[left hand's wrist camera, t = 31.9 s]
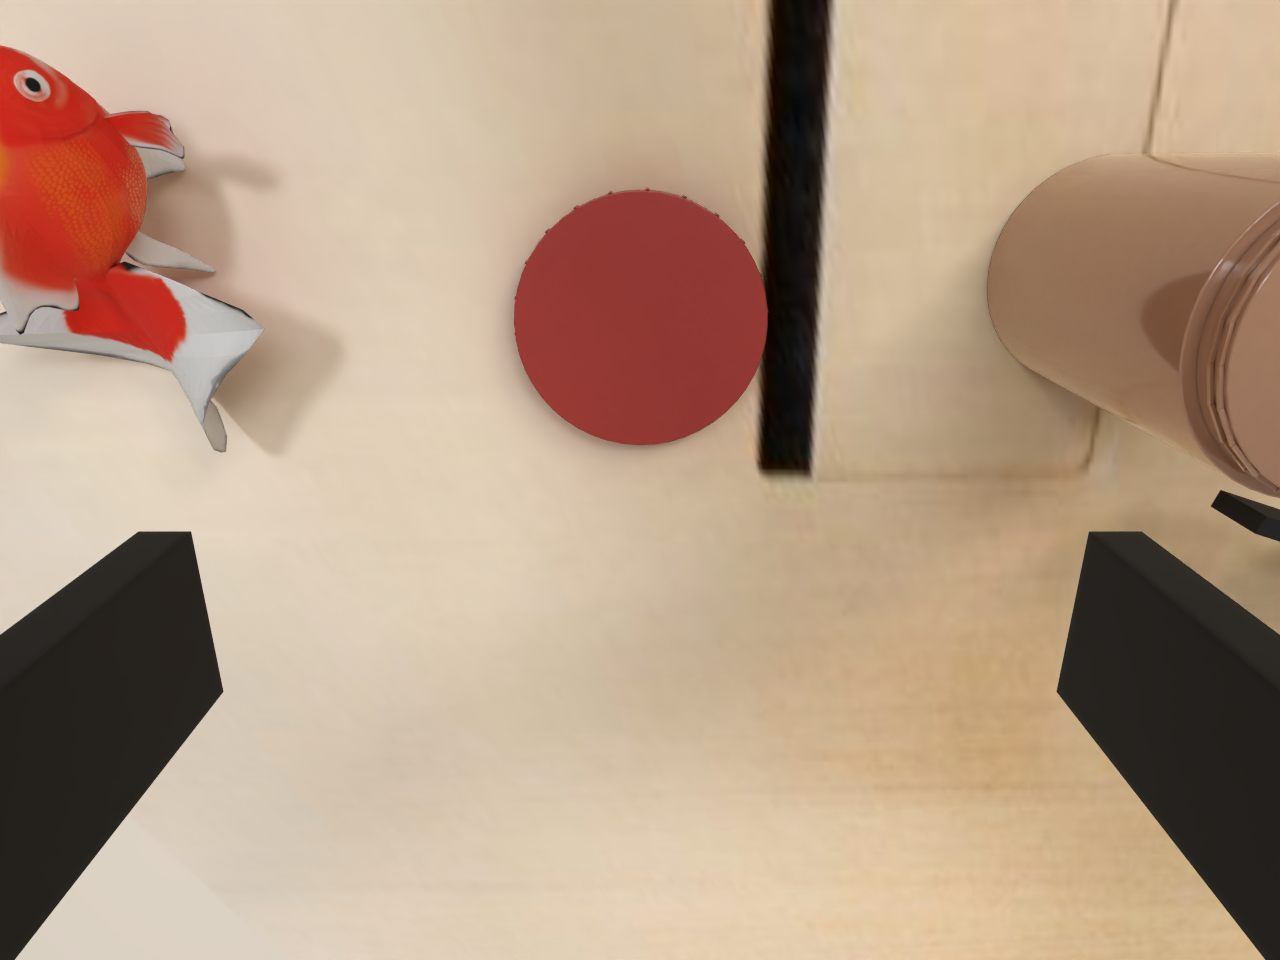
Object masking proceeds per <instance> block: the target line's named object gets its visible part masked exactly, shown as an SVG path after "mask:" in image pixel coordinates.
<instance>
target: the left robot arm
mask: <svg viewBox="0 0 1280 960" xmlns="http://www.w3.org/2000/svg"><path fill="white" fill-rule="evenodd" d="M222 693H223V688H222V683H221V678H220V673H219V668H218V663H217V658H216V653H215V648H214V643H213V638H212V633H211V628H210V623H209V618H208V613H207V609H206V604H205V599H204V594H203V589H202V584H201V579H200V574H199V569H198V564H197V559H196V554H195V549H194V544H193V539H192V534H191V532H137V533H136V534H135V535H133V536H132V537H131V538H129V539H128V540H127V541H125V542H124V543H123V544H121V545H120V546H119V547H117V548H116V549H115V550H113V551H112V552H111V553H109V554H108V555H107V556H105V557H104V558H103V559H101V560H100V561H99V562H97V563H96V564H95V565H93V566H92V567H91V568H89V569H88V570H87V571H85V572H84V573H83V574H81V575H80V576H79V577H77V578H76V579H75V580H73V581H72V582H71V583H69V584H68V585H66V586H65V587H64V588H62V589H61V590H60V591H58V592H57V593H56V594H54V595H53V596H52V597H50V598H49V599H48V600H46V601H45V602H44V603H42V604H41V605H40V606H38V607H37V608H36V609H34V610H33V611H32V612H30V613H29V614H28V615H26V616H25V617H24V618H22V619H21V620H20V621H18V622H17V623H16V624H14V625H13V626H12V627H10V628H9V629H8V630H6V631H5V632H4V633H2V634H1V635H0V960H15V959H16V957H17V956H18V955H19V953H20V952H21V951H22V950H23V948H24V947H25V946H26V944H27V943H28V942H29V941H30V939H31V938H32V937H33V935H34V934H35V933H36V932H37V930H38V929H39V928H40V926H41V925H42V924H43V923H44V921H45V920H46V919H47V917H48V916H49V915H50V914H51V912H52V911H53V910H54V908H55V907H56V906H57V905H58V903H59V902H60V901H61V899H62V898H63V897H64V896H65V894H66V893H67V892H68V890H69V889H70V888H71V887H72V885H73V884H74V883H75V881H76V880H77V879H78V878H79V876H80V875H81V874H82V872H83V871H84V870H85V869H86V867H87V866H88V865H89V864H90V862H91V861H92V860H93V858H94V857H95V856H96V855H97V853H98V852H99V851H100V849H101V848H102V847H103V846H104V844H105V843H106V842H107V840H108V839H109V838H110V837H111V835H112V834H113V833H114V831H115V830H116V829H117V827H118V826H119V825H120V824H121V822H122V821H123V820H124V819H125V817H126V816H127V815H128V813H129V812H130V811H131V810H132V808H133V807H134V806H135V804H136V803H137V802H138V801H139V799H140V798H141V797H142V795H143V794H144V793H145V792H146V790H147V789H148V788H149V786H150V785H151V784H152V783H153V781H154V780H155V779H156V777H157V776H158V775H159V774H160V772H161V771H162V770H163V769H164V767H165V766H166V765H167V763H168V762H169V761H170V760H171V758H172V757H173V756H174V754H175V753H176V752H177V751H178V749H179V748H180V747H181V745H182V744H183V743H184V742H185V740H186V739H187V738H188V736H189V735H190V734H191V733H192V731H193V730H194V729H195V727H196V726H197V725H198V724H199V722H200V721H201V720H202V718H203V717H204V716H205V715H206V713H207V712H208V711H209V709H210V708H211V707H212V706H213V704H214V703H215V702H216V700H217V699H218V698H219V697H220V695H221V694H222ZM1057 693H1058V694H1059V695H1060V697H1061V698H1062V699H1063V700H1064V702H1065V703H1066V704H1067V706H1068V707H1069V708H1070V709H1071V711H1072V712H1073V713H1074V715H1075V716H1076V717H1077V718H1078V720H1079V721H1080V722H1081V724H1082V725H1083V726H1084V727H1085V729H1086V730H1087V731H1088V733H1089V734H1090V735H1091V736H1092V738H1093V739H1094V740H1095V742H1096V743H1097V744H1098V745H1099V747H1100V748H1101V749H1102V751H1103V752H1104V753H1105V754H1106V756H1107V757H1108V758H1109V760H1110V761H1111V762H1112V763H1113V765H1114V766H1115V767H1116V769H1117V770H1118V771H1119V772H1120V774H1121V775H1122V776H1123V777H1124V779H1125V780H1126V781H1127V783H1128V784H1129V785H1130V786H1131V788H1132V789H1133V790H1134V792H1135V793H1136V794H1137V795H1138V797H1139V798H1140V799H1141V801H1142V802H1143V803H1144V804H1145V806H1146V807H1147V808H1148V810H1149V811H1150V812H1151V813H1152V815H1153V816H1154V817H1155V819H1156V820H1157V821H1158V822H1159V824H1160V825H1161V826H1162V828H1163V829H1164V830H1165V831H1166V833H1167V834H1168V835H1169V837H1170V838H1171V839H1172V840H1173V842H1174V843H1175V844H1176V846H1177V847H1178V848H1179V849H1180V851H1181V852H1182V853H1183V855H1184V856H1185V857H1186V858H1187V860H1188V861H1189V862H1190V864H1191V865H1192V866H1193V867H1194V869H1195V870H1196V871H1197V872H1198V874H1199V875H1200V876H1201V878H1202V879H1203V880H1204V881H1205V883H1206V884H1207V885H1208V887H1209V888H1210V889H1211V890H1212V892H1213V893H1214V894H1215V896H1216V897H1217V898H1218V899H1219V901H1220V902H1221V903H1222V905H1223V906H1224V907H1225V908H1226V910H1227V911H1228V912H1229V914H1230V915H1231V916H1232V917H1233V919H1234V920H1235V921H1236V923H1237V924H1238V925H1239V926H1240V928H1241V929H1242V930H1243V932H1244V933H1245V934H1246V935H1247V937H1248V938H1249V939H1250V941H1251V942H1252V943H1253V944H1254V946H1255V947H1256V948H1257V950H1258V951H1259V952H1260V953H1261V955H1262V956H1263V957H1264V959H1265V960H1280V635H1279V634H1278V633H1276V632H1275V631H1274V630H1272V629H1271V628H1270V627H1268V626H1267V625H1266V624H1264V623H1263V622H1262V621H1260V620H1259V619H1258V618H1256V617H1255V616H1254V615H1252V614H1251V613H1250V612H1248V611H1247V610H1246V609H1244V608H1243V607H1242V606H1240V605H1239V604H1238V603H1236V602H1235V601H1234V600H1232V599H1231V598H1230V597H1228V596H1227V595H1226V594H1224V593H1223V592H1222V591H1220V590H1219V589H1218V588H1216V587H1215V586H1214V585H1212V584H1211V583H1209V582H1208V581H1207V580H1205V579H1204V578H1203V577H1201V576H1200V575H1199V574H1197V573H1196V572H1195V571H1193V570H1192V569H1191V568H1189V567H1188V566H1187V565H1185V564H1184V563H1183V562H1181V561H1180V560H1179V559H1177V558H1176V557H1175V556H1173V555H1172V554H1171V553H1169V552H1168V551H1167V550H1165V549H1164V548H1163V547H1161V546H1160V545H1159V544H1157V543H1156V542H1155V541H1153V540H1152V539H1151V538H1149V537H1148V536H1147V535H1145V534H1144V533H1143V532H1089V534H1088V539H1087V544H1086V549H1085V554H1084V559H1083V564H1082V569H1081V574H1080V579H1079V584H1078V589H1077V594H1076V599H1075V604H1074V609H1073V613H1072V618H1071V623H1070V628H1069V633H1068V638H1067V643H1066V648H1065V653H1064V658H1063V663H1062V668H1061V673H1060V678H1059V683H1058V688H1057Z"/></svg>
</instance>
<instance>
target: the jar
mask: <svg viewBox="0 0 1280 960" xmlns="http://www.w3.org/2000/svg"><path fill="white" fill-rule="evenodd" d="M987 295H988V305H989V311H990V316H991V319H992V322H993V325H994V328H995V330H996V332H997V334H998V336H999V338H1000V340H1001V341H1002V343H1003V344H1004V346H1005V347H1006V348H1007V350H1008V351H1009V352H1010V353H1011V354H1012V355H1013V356H1014V357H1015V358H1016V359H1017V360H1018V361H1019V362H1020V363H1022V364H1023V365H1024V366H1026V367H1027V368H1028V369H1030V370H1032V371H1034V372H1036V373H1037V374H1039V375H1041V376H1043V377H1045V378H1047V379H1048V380H1050V381H1052V382H1054V383H1056V384H1058V385H1059V386H1061V387H1063V388H1065V389H1067V390H1069V391H1070V392H1072V393H1074V394H1076V395H1078V396H1080V397H1081V398H1083V399H1085V400H1087V401H1089V402H1091V403H1092V404H1094V405H1096V406H1098V407H1100V408H1102V409H1103V410H1105V411H1107V412H1109V413H1111V414H1113V415H1114V416H1116V417H1118V418H1120V419H1122V420H1124V421H1125V422H1127V423H1129V424H1131V425H1133V426H1135V427H1136V428H1138V429H1140V430H1142V431H1144V432H1146V433H1147V434H1149V435H1151V436H1153V437H1155V438H1157V439H1158V440H1160V441H1162V442H1164V443H1166V444H1168V445H1169V446H1171V447H1173V448H1175V449H1177V450H1179V451H1180V452H1182V453H1184V454H1186V455H1188V456H1190V457H1191V458H1193V459H1195V460H1197V461H1199V462H1201V463H1202V464H1204V465H1206V466H1208V467H1210V468H1212V469H1213V470H1215V471H1217V472H1219V473H1221V474H1223V475H1224V476H1226V477H1228V478H1230V479H1232V480H1234V481H1235V482H1237V483H1239V484H1241V485H1243V486H1245V487H1247V488H1248V489H1251V490H1254V491H1257V492H1259V493H1262V494H1265V495H1268V496H1273V497H1278V498H1280V152H1275V153H1125V154H1108V155H1103V156H1098V157H1093V158H1090V159H1087V160H1084V161H1081V162H1078V163H1075V164H1073V165H1071V166H1069V167H1067V168H1065V169H1063V170H1061V171H1059V172H1058V173H1056V174H1055V175H1053V176H1051V177H1050V178H1048V179H1047V180H1046V181H1044V182H1043V183H1042V184H1041V185H1039V186H1038V187H1037V188H1036V189H1034V190H1033V191H1032V192H1031V193H1030V194H1029V195H1028V196H1027V197H1026V198H1025V199H1024V200H1023V202H1022V203H1021V204H1020V205H1019V207H1018V208H1017V209H1016V210H1015V212H1014V213H1013V214H1012V216H1011V217H1010V219H1009V220H1008V222H1007V224H1006V225H1005V227H1004V229H1003V231H1002V233H1001V235H1000V237H999V239H998V241H997V243H996V246H995V249H994V252H993V255H992V258H991V263H990V268H989V272H988V283H987Z"/></svg>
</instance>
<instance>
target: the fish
mask: <svg viewBox="0 0 1280 960" xmlns="http://www.w3.org/2000/svg"><path fill="white" fill-rule="evenodd" d="M178 157H179V158H178ZM180 158H184V147H183V146H182V144H181V143H180V141H179V140H178V139H177V137H176V136H175V135H174V133H173V131H172V128H171V125H170V123H169V120H168V119H166V118H164V117H163V116H160V115H155V114H152V113H150V112H148V111H129V112H122V113H116V114H109V113H108V112H107V111H106V110H105V109H104V108H103V107H102V106H101V105H99V104H98V103H97V102H96V100H95V99H94V98H92V97H91V96H90V95H89V94H88V93H87V92H85V91H84V90H83V89H81V88H80V87H79V86H77V85H76V84H75V83H73V82H72V81H71V80H70V79H69V78H67V77H66V76H64V75H63V74H61V73H60V72H58V71H57V70H55V69H54V68H52V67H51V66H49V65H47V64H46V63H44V62H43V61H41V60H39V59H37V58H35V57H33V56H31V55H29V54H27V53H25V52H22V51H19V50H16V49H13V48H10V47H5V46H0V300H1V302H2V304H3V306H4V308H5V310H6V312H3V313H0V343H4V344H12V345H20V346H29V347H37V348H45V349H54V350H62V351H71V352H79V353H88V354H96V355H103V356H109V357H115V358H120V359H126V360H132V361H137V362H143V363H148V364H151V365H154V366H157V367H161V368H164V369H167V370H170V371H172V372H173V374H174V375H175V377H176V379H177V380H178V382H179V384H180V385H181V387H182V389H183V390H184V392H185V394H186V396H187V397H188V399H189V401H190V403H191V405H192V407H193V410H194V412H195V414H196V416H197V418H198V420H199V422H200V424H201V425H202V427H203V429H204V431H205V433H206V435H207V438H208V440H209V442H210V443H211V445H212V447H213V449H214V450H216V451H219V452H226V444H227V435H226V432H225V428H224V425H223V422H222V420H221V417H220V415H219V412H218V409H217V407H216V406H215V405H214V404H213V403H212V401H211V398H212V396H213V395H214V393H215V391H216V390H217V388H218V386H219V385H220V383H221V381H222V380H223V378H224V377H225V375H226V374H227V373H228V372H229V371H230V370H231V369H232V368H233V367H234V366H235V365H236V363H237V362H238V361H239V360H240V359H241V358H242V357H243V356H244V355H245V354H246V353H247V351H248V350H249V349H250V347H251V346H252V345H253V344H254V342H255V341H256V340H257V338H258V337H259V336H260V334H261V333H262V332H263V330H264V328H263V327H262V326H261V325H260V324H258V323H257V322H256V321H255V320H254V319H253V318H252V317H250V316H249V315H248V314H247V313H246V312H245V311H243V310H241V309H239V308H237V307H234V306H232V305H229V304H227V303H224V302H222V301H219V300H217V299H215V298H212V297H210V296H207V295H205V294H203V293H200V292H198V291H196V290H194V289H192V288H190V287H188V286H185V285H183V284H181V283H179V282H176V281H174V280H171V279H169V278H166V277H164V276H161V275H159V274H156V273H153V272H151V271H148V270H146V269H143V268H140V267H138V266H135V265H132V264H130V263H127V262H122V263H120V260H121V258H122V256H123V254H124V252H125V253H126V254H127V255H128V256H129V257H131V258H132V259H133V260H135V261H137V262H139V263H141V264H144V265H149V266H156V267H170V268H182V269H190V270H198V271H205V272H212V273H213V272H214V271H215V269H214V268H213V267H211V266H209V265H207V264H205V263H203V262H201V261H200V260H198V259H196V258H194V257H193V256H191V255H189V254H187V253H185V252H183V251H181V250H179V249H177V248H175V247H172V246H170V245H167V244H165V243H162V242H159V241H157V240H155V239H152V238H150V237H148V236H147V235H145V234H143V233H142V232H140V231H139V229H140V226H141V224H142V221H143V218H144V213H145V208H146V200H147V178H154V177H157V176H160V175H163V174H167V173H173V172H179V171H183V170H184V169H185V164H184V162H183V161H182V160H181V159H180Z"/></svg>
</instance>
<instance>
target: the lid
mask: <svg viewBox="0 0 1280 960" xmlns="http://www.w3.org/2000/svg"><path fill="white" fill-rule="evenodd" d="M574 209H575V210H573V211H572V212H570V213H569V214H568V215H566V216H565V217H563V218H562V219H561V220H560V221H559V222H558V223H557V224H556V225H555V226H553V227H552V228H551V229H548V230H547V231H546V232H545V233H546V235H545V236H544V237H543V238H542V240H541V241H540V242H539V243H538V245H537V246H536V248H535V250H534V251H533V253H532V254H531V256H530V257H529V259H528V260H527V261H526V262H525V264H526V266H525V268H524V271H523V273H522V276H521V279H520V282H519V286H518V289H517V295H516V296H515V299H516V301H515V312H514V326H515V336H516V342H517V346H518V350H519V355H520V357H521V360H522V363H523V365H524V368H525V371H526V373H527V374H528V376H529V378H530V380H531V382H532V384H533V385H534V387H535V388H536V390H537V391H538V393H539V394H540V395H541V397H542V398H543V399H544V400H545V401H546V402H547V404H548V405H549V406H550V407H551V408H552V409H553V410H554V411H555V412H556V413H558V414H559V415H560V416H561V417H562V418H564V419H565V420H566V421H568V422H569V423H571V424H572V425H574V426H575V427H577V428H578V429H580V430H582V431H585V432H587V433H589V434H591V435H593V436H596V437H599V438H602V439H605V440H608V441H612V442H617V443H622V444H633V445H649V444H659V443H665V442H670V441H674V440H677V439H680V438H684V437H686V436H689V435H691V434H693V433H695V432H698V431H700V430H701V429H703V428H705V427H706V426H708V425H710V424H711V423H713V422H714V421H716V420H717V419H718V418H719V417H721V416H722V415H723V414H724V413H726V412H727V411H728V410H729V409H730V408H731V407H732V406H733V404H734V403H735V402H736V401H737V400H738V399H739V398H740V396H741V395H742V394H743V392H744V391H745V390H746V388H747V387H748V385H749V383H750V381H751V380H752V378H753V376H754V374H755V372H756V370H757V367H758V365H759V363H760V360H761V357H762V353H763V350H764V347H765V341H766V334H767V319H768V309H767V302H766V294H765V290H764V286H763V283H762V279H761V277H762V275H761V273H760V272H759V271H758V269H757V266H756V264H755V261H754V260H753V258H752V256H751V255H750V253H749V251H748V249H747V248H746V246H745V245H744V244H745V242H744V241H743V240H742V239H739V237H738V236H737V235H736V233H735V232H734V231H733V230H732V229H731V228H729V227H728V226H727V225H726V224H725V223H724V222H723V221H722V220H721V219H720V218H718V217H719V215H718V214H717V213H715V214H713V213H711V212H710V211H709V210H707V209H706V208H704V207H702V206H700V205H699V204H697V203H695V202H693V201H691V200H688V199H686V196H684V195H683V196H682V197H680V196H678V195H674V194H670V193H666V192H661V191H652V190H649V188H646V190H628V191H621V192H616V193H612V191H610V192H609V194H608V195H605V196H602V197H599V198H596V199H593V200H591V201H589V202H587V203H585V204H583V205H581V206H578V205H577V206H575V207H574Z"/></svg>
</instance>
